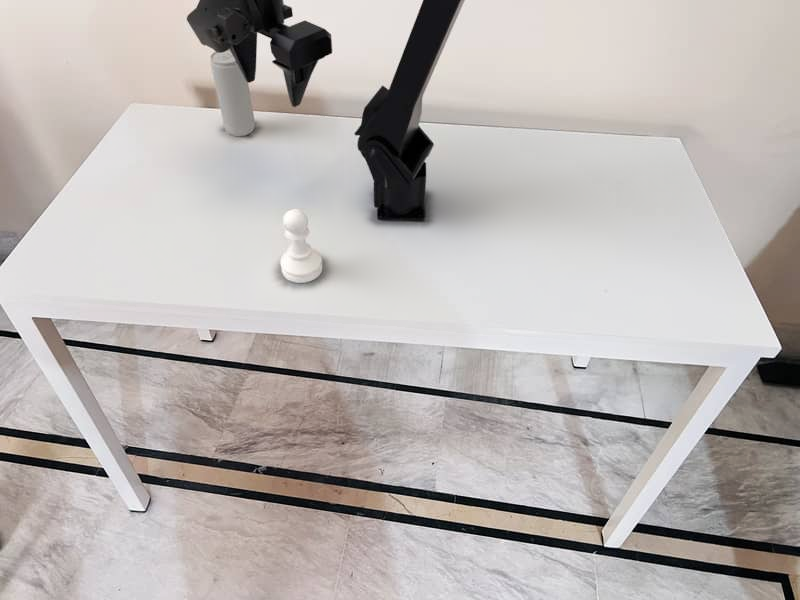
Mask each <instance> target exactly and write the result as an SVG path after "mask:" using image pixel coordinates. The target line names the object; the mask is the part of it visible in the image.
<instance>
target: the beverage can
mask: <svg viewBox="0 0 800 600" xmlns="http://www.w3.org/2000/svg"><path fill="white" fill-rule="evenodd" d="M209 57H210V67H211V72H212V77H213V81H214V85H215V91H216V95H217V99H218V104H219V109H220V112H221V117H222V118H221V119H222V123H223V126H224V130H225V132H226V133H228V134H229V135H231V136H234V137H243V136H248V135H250V134H251V133H253V132H254V130H255V128H256V121H255V115H254V110H253V104H252V98H251V92H250V86H249V85H250V84H249V83H248V82H247V81H246V80H245V78H244V76H243V74H242V72H241V70H240V68H239V66H238V64H237V62H236V61H235V59H234V57H233V55H232V53H231V51H230V49H228V50H227V51H225V52H222V53H218V52H216V51H214V52H213V53H211V55H210V56H209Z"/></svg>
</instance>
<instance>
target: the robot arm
mask: <svg viewBox="0 0 800 600" xmlns="http://www.w3.org/2000/svg"><path fill="white" fill-rule="evenodd" d="M465 1H466V0H422V2H421V5H420V7H419V10H418V13H417V15H416V18H415V21H414V23H413V25H412V28H411V31H410V34H409V35H408V38H407V42H406V44H405V46H404V49H403V52H402V54H401V57H400V60H399V63H398V64H397V67H396V70H395V73H394V75H393V78H392V81H391V83H390V86H389V88H387V86H385V85H381V87H379V89H378V90H377V91H376V93H375V94H374V95H373V97H371V99H370V100H369V101H368V102H367V104H366V105H365V106H364V108H363V111H362V116H361V122H360V125H359V127H358V128H357V129H356V130H355V131H354V136H358V139H357V145H356V146H357V150H358V151H359V152H360V154H361V156H362V157H363V159H364V160H365V162H366V165H367V167H368V169H369V172H370V175H371V177H372V179H373V207H374V208H375V209H376V219H377V220H380V221H402V222H403V221H405V222H407V221H408V222H423V221H425V220H426V189H427V188H426V187H427V162H426V160H427V158H428V157H429V155H430V154H431V152H432V150H433V148H434V146H435V143H434V142H433V140H432V139H431V137H429V136H428V134H426V132H425V131H424V130H423V128H421V127H420V122H421V117H422V113H423V97H424V94H425V92H426V90H427V88H428V85H429V83H430V81H431V78H432V75H433V74H434V71H435V69H436V67H437V64H438V62H439V60H440V57H441V56H442V54H443V50H444V48H445V46H446V44H447V41H448V39H449V37H450V35H451V34H452V33H451V32H452V31H453V28H454V26H455V24H456V21H457V19H458V17H459V14H460V13H461V11H462V8H463V5H464V3H465ZM293 16H294V14H293V8H292V7H291V6H289V5H287V4H285V3H284V0H199V1H198V3H197V4H196V7H195V8H194V9H193V10H192V11H190V13H188V15H187V16H186V21H187V23H188V24H189V26H190V28H191V29H192V31H193V32H194V35H195V36H196V38H197V39H198V41H199V43H200V44H201V45H202V46H207V47H208V48H210V49H212V50H213V51H214V52H218V53H222V52H225V51H227V50H228V49H230V51H231V53H232V55H233V57H234V59H235V61H236V62H237V64H238V66H239V68H240V70H241V72H242V74H243V76H244V78H245V80H246V81H247V82H248V84H250V83H252V82H254V81H255V80H256V73H257V51H258V34H260V35H262V36H264V37H266V38H269V39H271V40H270V42H269V47H270V52H271V54H272V56H273V58H274V60H272V61H271V63H272V64H273V65H275V66H277V67H278V68H279V69H280V70H282V73H283V77H284V80H285V85H286V90H287V95H288V99H289V101H290V104H291V107H293V108H297V107H298V106H301V104H302V101H303V98H304V95H305V92H306V89H307V87H308V85H309V82H310V79H311V77H312V74H313V72H314V71H315V68H316V66H317V64H318V62H319V61H320V60H322V59H324V58H326V57H328V56H329V55H332V54H333V43H332V42H333V40H332V34H331V33H330V32H329V31H328V30H327V29H326V28H323V27H321V26H319V25H317V24H315V23H312V22H310V21H307V20H303V21H300V22H298V23H297V22H296V23H295V24H292V25H287V24H285V20H287V19H289V18H292V17H293Z"/></svg>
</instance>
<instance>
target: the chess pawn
mask: <svg viewBox="0 0 800 600" xmlns="http://www.w3.org/2000/svg"><path fill="white" fill-rule="evenodd" d="M282 224H283V227H284V229H285V230H284V236H285V238H286V239H288V240H289V241H290V244H289V245H288V247H287V250H286V251H285V252H284V253H283V254H282V255H281V257H280V269H281V274H282V275H283V277H284V278H285V279H286V280H288V281H289V282H292V283H295V284H305V283H309V282H312V281H314V280H316V279H317V278H319V276H320V275H321V273H322V271H323V268H324V267H323V258H322V255H321V254H320V252H319V251H318V250H316V249H315V248H313V247H312V246H311V244H310V243H308V242H307V241H306V238H308V237H309V236H310V229H309V228H308V224H309V219H308V216H307V214H306V212H304V211H303V210H301V209H299V208H293V209H290V210H288V211H287V212H286V213H284V215H283V218H282Z"/></svg>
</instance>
